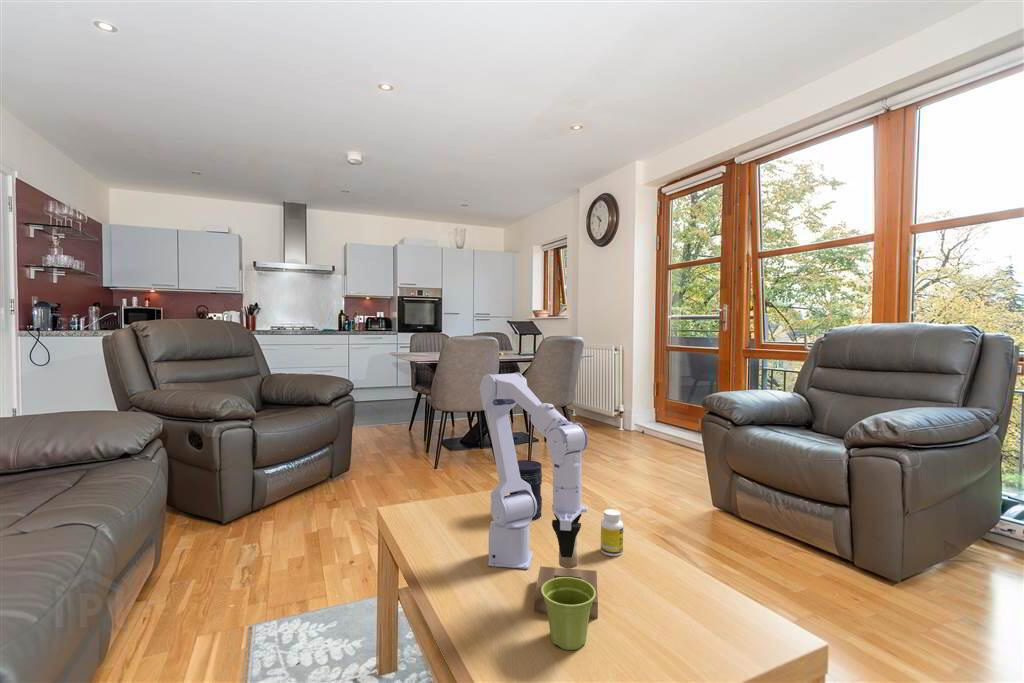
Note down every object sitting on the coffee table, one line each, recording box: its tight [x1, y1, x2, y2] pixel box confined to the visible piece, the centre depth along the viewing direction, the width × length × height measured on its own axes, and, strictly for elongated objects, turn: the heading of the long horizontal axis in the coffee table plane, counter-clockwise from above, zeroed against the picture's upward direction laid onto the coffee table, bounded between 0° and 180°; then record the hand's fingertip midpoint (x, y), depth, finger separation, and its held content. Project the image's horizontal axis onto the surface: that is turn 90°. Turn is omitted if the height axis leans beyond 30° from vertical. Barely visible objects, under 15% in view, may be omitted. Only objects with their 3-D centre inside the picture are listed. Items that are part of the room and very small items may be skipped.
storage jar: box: [509, 459, 543, 522], centre depth 139 cm, size 10×10×15 cm
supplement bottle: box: [600, 508, 624, 557], centre depth 116 cm, size 5×5×10 cm
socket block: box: [533, 565, 599, 619], centre depth 96 cm, size 12×12×3 cm
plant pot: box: [541, 577, 596, 651], centre depth 83 cm, size 9×9×9 cm
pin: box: [558, 522, 578, 569], centre depth 95 cm, size 4×4×8 cm
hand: (567, 551), depth 96 cm, fingers closed on pin, 4 cm apart
